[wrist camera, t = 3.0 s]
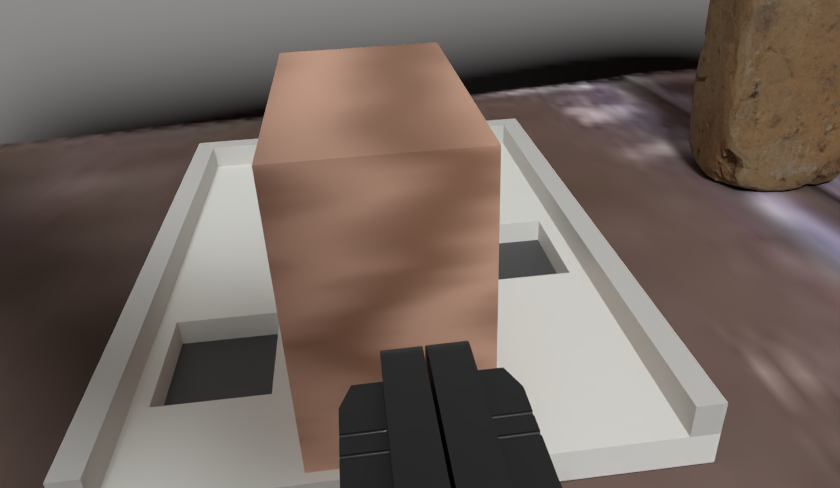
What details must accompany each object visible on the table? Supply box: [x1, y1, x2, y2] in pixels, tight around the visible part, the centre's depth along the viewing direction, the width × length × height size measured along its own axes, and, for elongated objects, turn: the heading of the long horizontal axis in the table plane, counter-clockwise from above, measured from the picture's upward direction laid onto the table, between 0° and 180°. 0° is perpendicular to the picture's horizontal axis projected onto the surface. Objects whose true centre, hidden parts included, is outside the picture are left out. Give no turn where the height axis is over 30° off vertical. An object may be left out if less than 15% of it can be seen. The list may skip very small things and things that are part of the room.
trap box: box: [43, 119, 728, 488], centre depth 38 cm, size 24×32×3 cm
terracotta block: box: [252, 43, 501, 473], centre depth 28 cm, size 7×13×12 cm, turn 7°
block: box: [690, 0, 840, 191], centre depth 44 cm, size 11×8×20 cm
